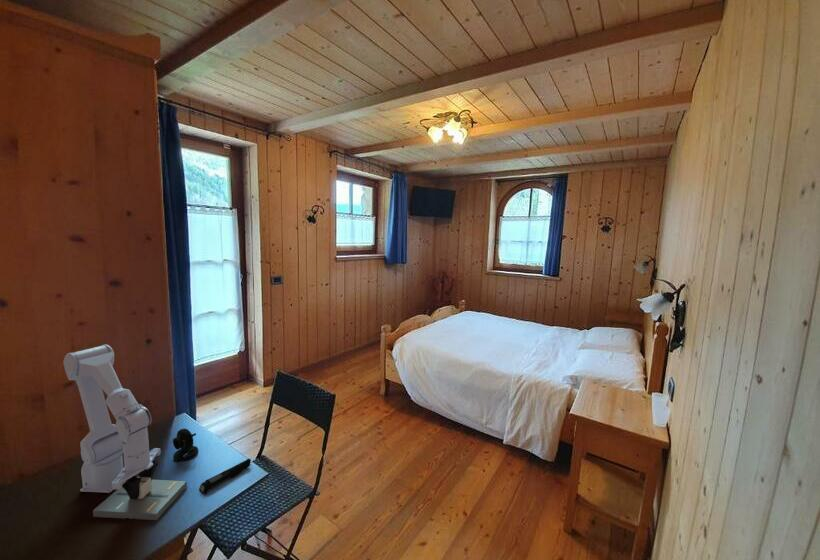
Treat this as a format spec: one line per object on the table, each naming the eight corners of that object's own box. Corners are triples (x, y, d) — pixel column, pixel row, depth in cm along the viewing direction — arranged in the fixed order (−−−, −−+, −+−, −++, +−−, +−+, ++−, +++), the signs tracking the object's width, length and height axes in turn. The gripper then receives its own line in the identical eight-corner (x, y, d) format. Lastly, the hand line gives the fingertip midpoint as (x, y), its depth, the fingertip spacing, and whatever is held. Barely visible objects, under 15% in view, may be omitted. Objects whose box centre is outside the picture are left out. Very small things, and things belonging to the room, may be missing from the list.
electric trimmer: (253, 469, 112) (252, 460, 111) (203, 496, 99) (203, 486, 99) (247, 464, 114) (247, 455, 114) (198, 490, 102) (198, 481, 101)
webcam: (168, 457, 115) (166, 431, 114) (190, 445, 122) (189, 421, 120) (180, 465, 112) (179, 438, 110) (203, 452, 118) (201, 427, 117)
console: (93, 516, 91) (92, 510, 91) (131, 484, 103) (130, 478, 103) (156, 520, 91) (156, 513, 90) (186, 486, 102) (186, 480, 102)
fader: (128, 498, 95) (127, 485, 94) (138, 488, 98) (137, 476, 98) (142, 498, 95) (141, 486, 94) (151, 489, 98) (150, 477, 97)
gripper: (127, 469, 87) (132, 513, 89) (168, 435, 101) (171, 475, 103) (102, 467, 87) (107, 512, 89) (146, 434, 102) (150, 474, 104)
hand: (140, 492), depth 96 cm, fingers closed on fader, 3 cm apart
